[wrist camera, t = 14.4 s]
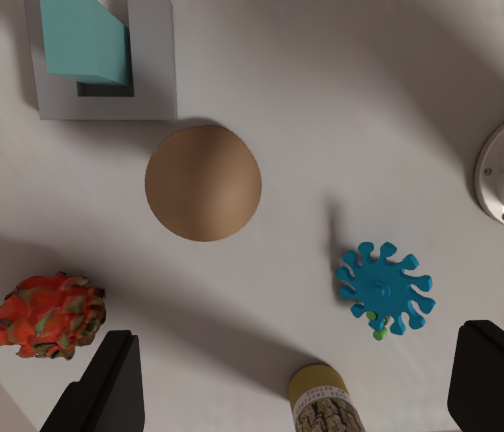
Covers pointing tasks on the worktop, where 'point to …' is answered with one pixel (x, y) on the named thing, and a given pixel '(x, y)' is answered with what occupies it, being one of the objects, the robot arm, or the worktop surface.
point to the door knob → (203, 183)
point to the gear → (385, 289)
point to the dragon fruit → (51, 316)
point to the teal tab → (85, 43)
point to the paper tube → (322, 402)
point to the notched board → (143, 66)
